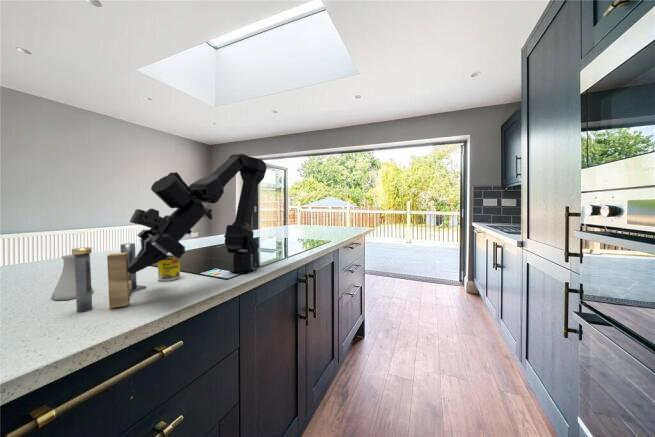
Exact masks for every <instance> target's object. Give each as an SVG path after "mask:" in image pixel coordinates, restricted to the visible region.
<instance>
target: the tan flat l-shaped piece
mask: <svg viewBox="0 0 655 437" xmlns="http://www.w3.org/2000/svg"><path fill="white" fill-rule="evenodd" d="M106 261H107V278H108V279H107V281H108V282H107V284H108V301H109V302H108V305H109V309H112V308H119V307H125V306H128V305H129V303H130V301H131V299H130V297H131V296H130V294H131V293H130V291H131V289H132V281H129V272H128V252H126V253H121V252H115V253H109V254H108V255H107V256H106Z"/></svg>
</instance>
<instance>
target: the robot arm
mask: <svg viewBox="0 0 655 437" xmlns="http://www.w3.org/2000/svg"><path fill="white" fill-rule="evenodd" d="M267 168H268V167H267V163H265V162H264V160H263V159H261V158H257V157H253V156H249V155H247V154H244V153H232V154H230V155H229V157H228V158H227V159H226V160H225V161H224V162H223V163H222V164H221V165H220V166H218V168H216V169H215V170H214V171H213V172H212V173H211V174H210V175H207V176H205V177H203V178H200V179H199V178H198V179H197V180H196V181H194V182H192V183H191V184H189V185H188V184H187V183H186V182H185V180H183V178H182V177H181V175H180V174H179V172H177V171H175V172H169V173H168V175H165V176H163V177H160V178H159V180H156V181H154V183H153V184H152V185H151V186H150V187H151V188H150V190H151V191H152V192H153V194H155V195H156V196H157V197H158V198H159V199H160V200H161V201H162V202H163V203H164V204H165V205H166V206H167V207H168V208H170V209H175V210H174V211H173V212H172V213H170V214H169V215H164V216H163V217H162V216H160V210H157V209H155V208H149V209H148V210H143V209H139V208H137V209H135V210H134V212H133V213H132V216H131V218H130V220H129V223H132V224H135V225H139V226H143V227H147V228H148V229H142V230H141V231H140V232H139V233H138V234H137V235H136V236H137V237H139V240H140V250H139V251H138V253H137V254H136V258H135V259H134V261H133V262H132V264H131V265H130V267H129V269H128V272H129V273H131V274H133V273H136V274H137V272H139V271H142V270H144V269H147V268H148V267H150V266H153V265H154V264H158V262H159V261H162V260H164V259H166V258H169V256H167V254H168V253H171V254H172V255H173V257H175V258H177V259H179V258H180V259H181V257H183V255H184V254H185V253H186V246H184V245H183V244H182V243H180V241H181V240H182V239H183V238H184V237H185V236H186V235H190V234H191V233H192V232H193V231H192V229H193V228H194V227H195V226H196V225H197V224H198V223H199V222H200V221H201V220H202V219H203V218H205V219H208V220H212V219H213V214H212V211H213V210H212V209H211V208H209V207H206V206H205V205H204V204H208V205H209V204H211V205H212V204H217V203H218V202H219V201H220V199H221V198H222V196H223V194H224V193H225V186H227V184H228V183H230V181H231V180H232V179H233V178H234V177H236V175H237V174H238V173H239V175H240V177H241V180H242V185H241V189H240V196H239V201H238V205H237V210H236V215H235V219H234V222H233V223H232V224H228V225H227V226H226V228H225V234H224V236H223V238H224V244H225V248H226V250H227V253H228V254H232V269H231V270H229V273H230V272H239V273H238V274H243V273H247V274H249V273H251V272H250V271H252V270H254V269H256V270H257V269H258V268H257V267H254V259H253V255H255V254H257V253H259V248H260V247H259V244H258V243H257V242H256V240H255V239H254V230H253V228H252V226H251V223H252V217H253V214H254V213H253V212H254V206H255V201H256V196H257V190H258V185H260V183H261V182H262V181H263V180H264V178H265V175H266V172H267ZM149 228H150V229H149ZM254 271H255V270H254ZM248 272H249V273H248ZM252 272H253V271H252Z"/></svg>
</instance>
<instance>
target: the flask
mask: <svg viewBox="0 0 655 437" xmlns="http://www.w3.org/2000/svg"><path fill="white" fill-rule="evenodd" d="M61 259H63V266H62V270H61V271H62V272H61V274H60V276H59V279H58V281H57V284H56V286H55V288H54V290H53V292H52V295H51V297H50V298H51V299H52V300H54V301H61V300H62V301H63V300H64V301H65V300H66V301H67V300H73V299H76V285H75V266H74V255H72V254H65V255H61ZM91 288H92V294H93V293H94V292H95V291H94V289H93V286H91Z"/></svg>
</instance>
